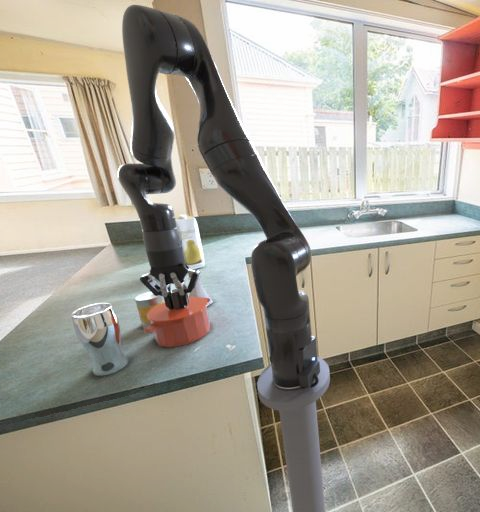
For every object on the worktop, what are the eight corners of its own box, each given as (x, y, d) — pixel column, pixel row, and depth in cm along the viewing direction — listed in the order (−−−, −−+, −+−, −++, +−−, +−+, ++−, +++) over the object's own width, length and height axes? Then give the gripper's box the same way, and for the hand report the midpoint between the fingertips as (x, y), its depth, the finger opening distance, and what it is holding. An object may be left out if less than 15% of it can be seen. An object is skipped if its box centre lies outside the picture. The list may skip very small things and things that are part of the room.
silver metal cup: (103, 359, 71) (84, 304, 67) (136, 355, 73) (120, 301, 68) (82, 379, 65) (60, 319, 60) (119, 374, 66) (100, 315, 62)
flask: (201, 298, 103) (196, 271, 100) (217, 301, 101) (212, 274, 98) (182, 307, 96) (175, 279, 93) (198, 311, 94) (192, 282, 91)
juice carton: (184, 272, 127) (171, 217, 119) (177, 268, 131) (165, 215, 124) (207, 266, 133) (197, 214, 126) (200, 263, 138) (190, 212, 131)
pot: (227, 320, 89) (223, 297, 87) (172, 356, 72) (166, 330, 70) (193, 314, 92) (189, 293, 90) (134, 348, 76) (126, 322, 73)
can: (173, 319, 89) (166, 292, 87) (153, 330, 84) (145, 301, 81) (157, 316, 91) (150, 290, 88) (137, 327, 85) (129, 298, 83)
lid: (219, 303, 85) (215, 283, 83) (176, 327, 72) (171, 305, 70) (181, 297, 88) (177, 278, 86) (134, 320, 76) (128, 298, 74)
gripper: (123, 252, 69) (141, 317, 75) (190, 248, 73) (203, 310, 78) (139, 243, 76) (155, 304, 82) (199, 240, 80) (211, 298, 85)
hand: (178, 307), depth 80 cm, fingers closed on lid, 2 cm apart
